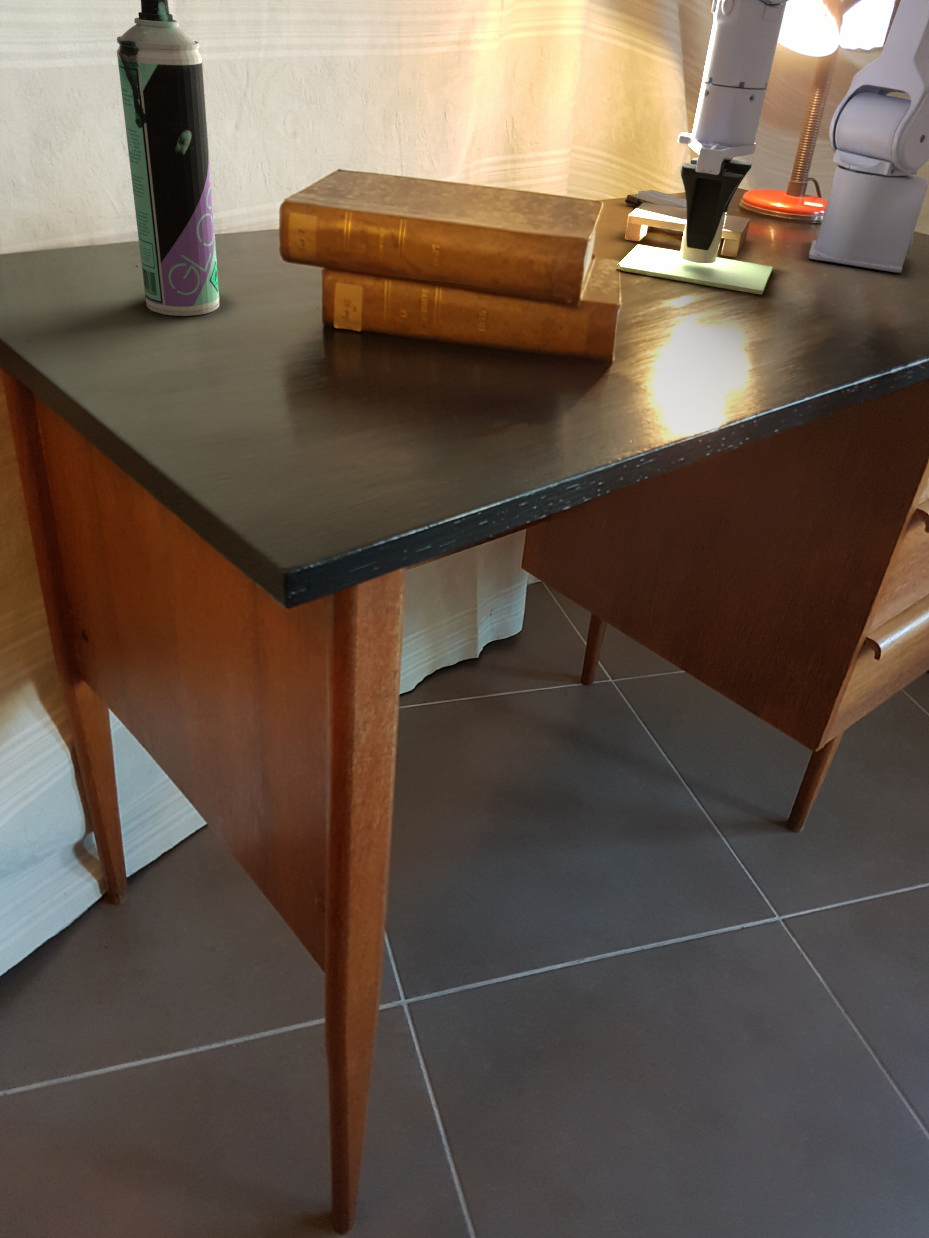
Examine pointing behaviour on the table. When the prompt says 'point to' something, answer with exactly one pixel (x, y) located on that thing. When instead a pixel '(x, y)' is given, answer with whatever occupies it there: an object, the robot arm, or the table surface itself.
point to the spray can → (169, 162)
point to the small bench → (683, 225)
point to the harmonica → (655, 199)
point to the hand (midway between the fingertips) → (701, 243)
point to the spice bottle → (699, 254)
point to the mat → (697, 269)
